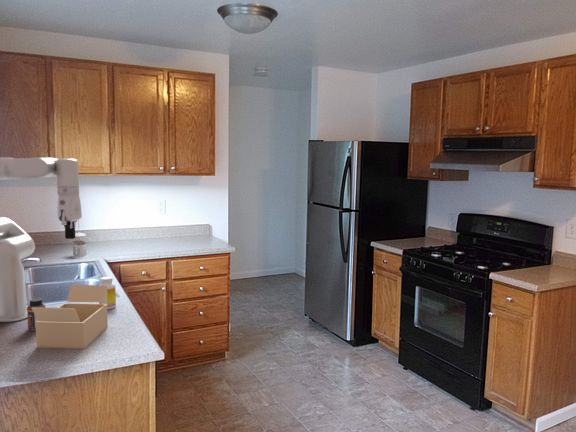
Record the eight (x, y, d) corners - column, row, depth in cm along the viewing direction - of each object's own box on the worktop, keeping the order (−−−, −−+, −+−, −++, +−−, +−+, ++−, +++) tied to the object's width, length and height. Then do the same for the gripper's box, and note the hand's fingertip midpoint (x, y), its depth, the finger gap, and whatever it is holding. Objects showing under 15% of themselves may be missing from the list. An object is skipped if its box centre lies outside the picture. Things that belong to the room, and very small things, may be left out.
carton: (36, 347, 157) (35, 322, 156) (65, 326, 177) (64, 303, 176) (84, 348, 157) (83, 322, 156) (107, 327, 177) (106, 304, 176)
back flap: (71, 284, 179) (71, 285, 179) (67, 301, 176) (67, 301, 176) (107, 285, 179) (107, 285, 179) (103, 302, 176) (104, 302, 176)
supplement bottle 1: (25, 329, 174) (23, 299, 172) (41, 324, 178) (40, 295, 177) (32, 333, 170) (30, 302, 169) (49, 328, 175) (47, 299, 173)
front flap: (38, 319, 156) (38, 320, 156) (31, 307, 152) (31, 308, 152) (79, 320, 156) (79, 321, 156) (74, 308, 152) (74, 309, 151)
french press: (76, 259, 289) (74, 218, 286) (66, 256, 296) (65, 217, 293) (91, 256, 297) (90, 217, 294) (81, 254, 304) (80, 215, 301)
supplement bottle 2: (118, 304, 203) (117, 276, 202) (113, 309, 197) (112, 280, 195) (102, 304, 203) (101, 275, 201) (96, 309, 196) (95, 279, 195)
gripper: (68, 192, 172) (70, 242, 174) (86, 189, 187) (88, 235, 189) (48, 192, 172) (50, 241, 175) (67, 189, 187) (69, 235, 189)
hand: (70, 238), depth 182 cm, fingers closed
